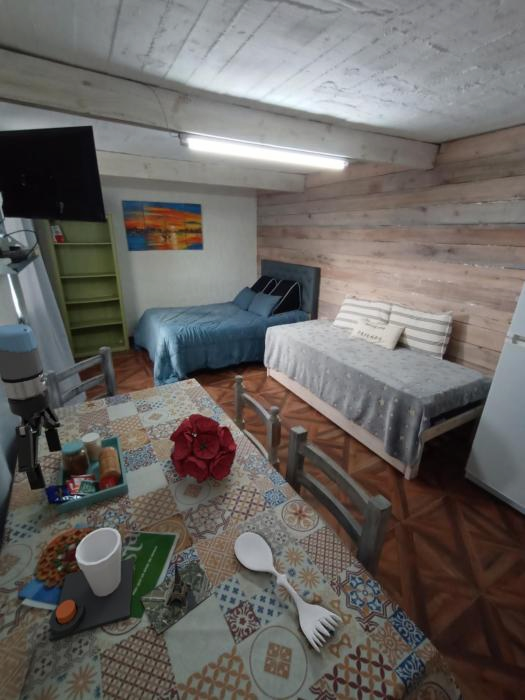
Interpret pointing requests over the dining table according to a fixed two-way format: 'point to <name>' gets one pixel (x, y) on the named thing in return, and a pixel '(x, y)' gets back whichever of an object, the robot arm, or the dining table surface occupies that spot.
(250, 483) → the dining table surface
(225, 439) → the bouquet
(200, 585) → the eiffel tower figurine
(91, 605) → the scale
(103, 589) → the foam cup
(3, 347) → the robot arm
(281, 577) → the spoon
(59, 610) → the tare button
